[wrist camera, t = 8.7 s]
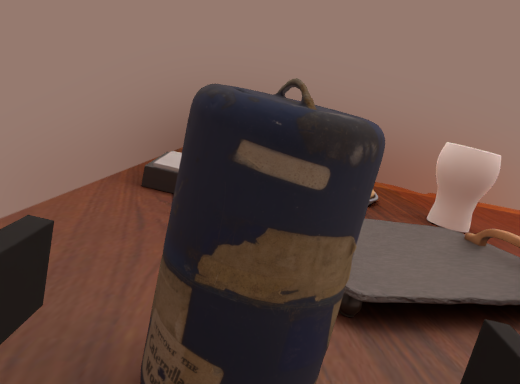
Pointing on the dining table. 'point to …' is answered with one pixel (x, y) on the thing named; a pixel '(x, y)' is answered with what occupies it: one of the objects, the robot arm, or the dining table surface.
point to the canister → (259, 238)
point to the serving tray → (430, 267)
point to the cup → (461, 184)
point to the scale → (162, 172)
